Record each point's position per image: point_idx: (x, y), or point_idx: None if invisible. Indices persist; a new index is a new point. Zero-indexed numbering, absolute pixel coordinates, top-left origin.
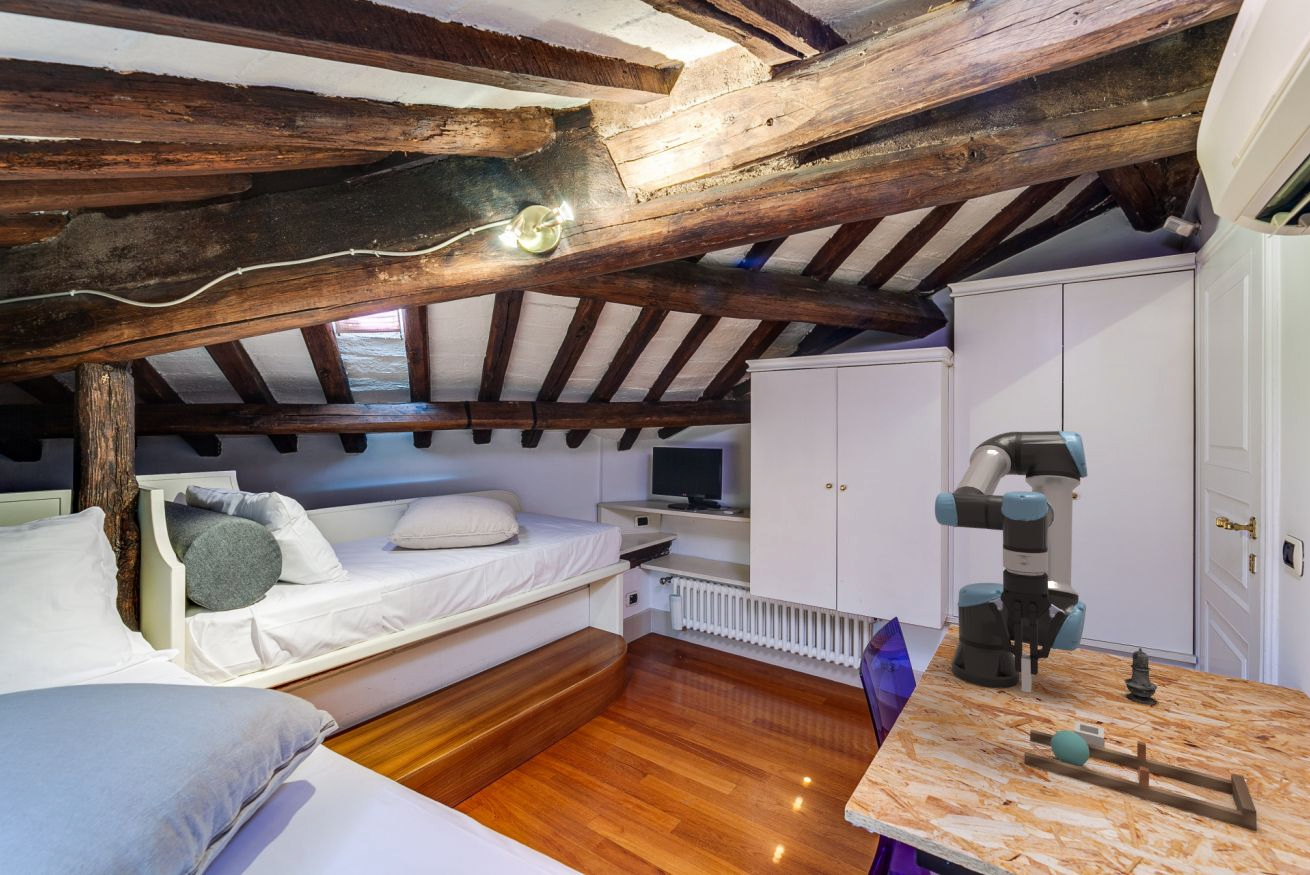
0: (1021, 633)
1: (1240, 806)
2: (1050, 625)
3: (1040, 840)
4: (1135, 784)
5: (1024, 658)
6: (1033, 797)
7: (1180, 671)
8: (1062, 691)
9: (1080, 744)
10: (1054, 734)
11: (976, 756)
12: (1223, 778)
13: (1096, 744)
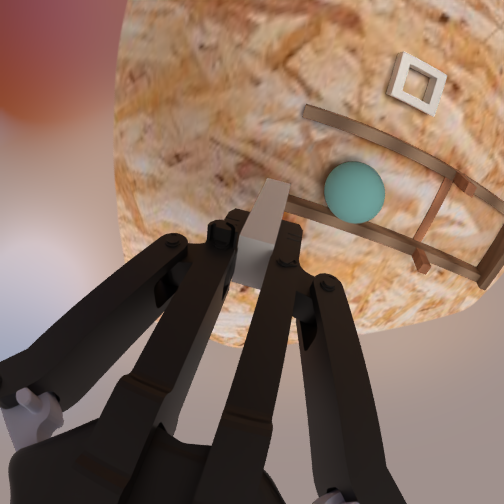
0: (197, 363)
1: (485, 270)
2: (316, 460)
3: None
4: (409, 251)
5: (242, 283)
6: None
7: None
8: None
9: (367, 220)
10: (333, 190)
11: (210, 200)
12: None
13: (418, 109)
